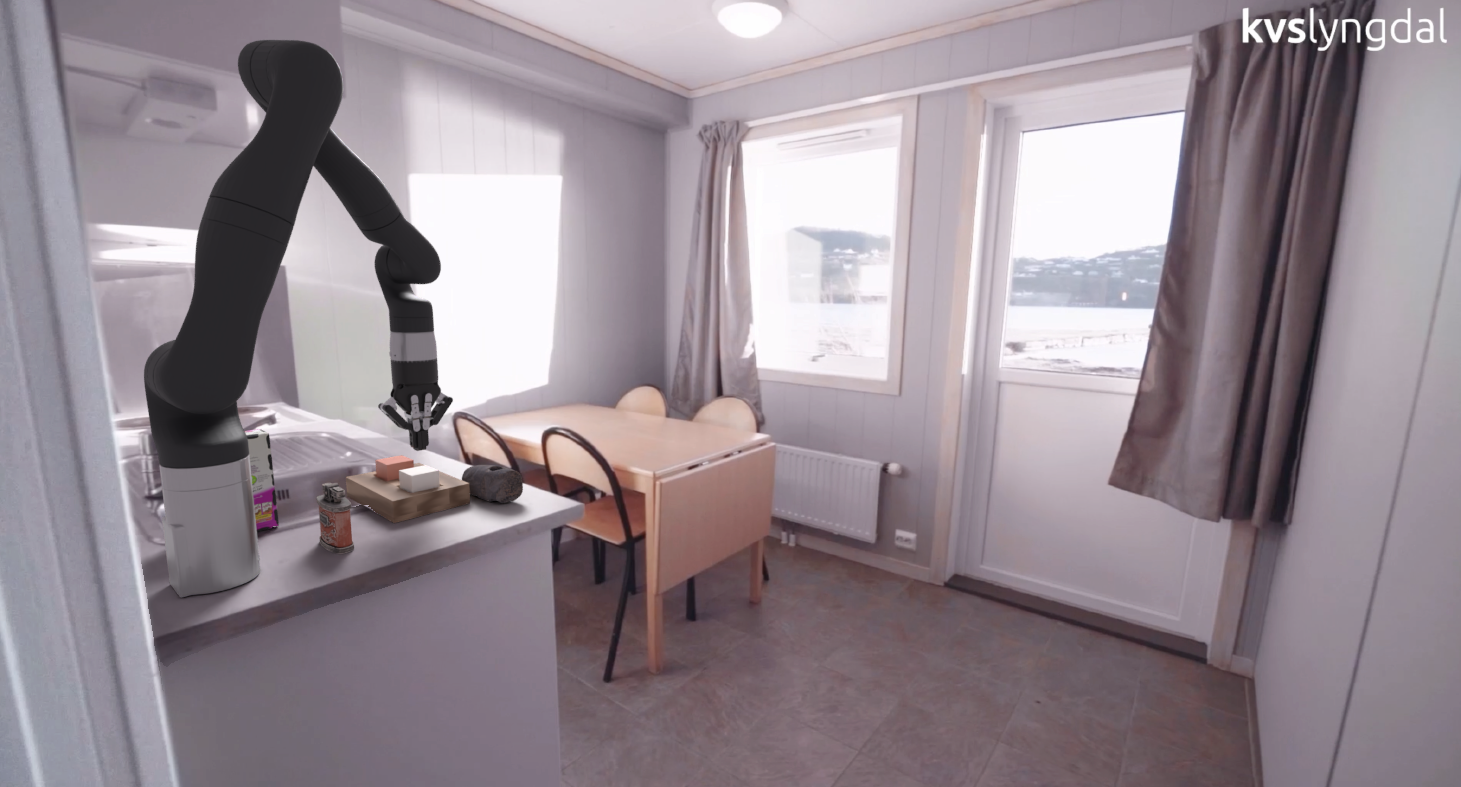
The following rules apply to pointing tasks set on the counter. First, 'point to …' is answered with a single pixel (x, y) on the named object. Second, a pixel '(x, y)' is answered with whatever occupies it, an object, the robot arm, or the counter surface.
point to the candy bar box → (262, 479)
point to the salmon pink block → (392, 467)
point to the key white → (418, 478)
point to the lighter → (335, 519)
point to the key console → (406, 496)
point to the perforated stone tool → (493, 483)
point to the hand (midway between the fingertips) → (419, 449)
